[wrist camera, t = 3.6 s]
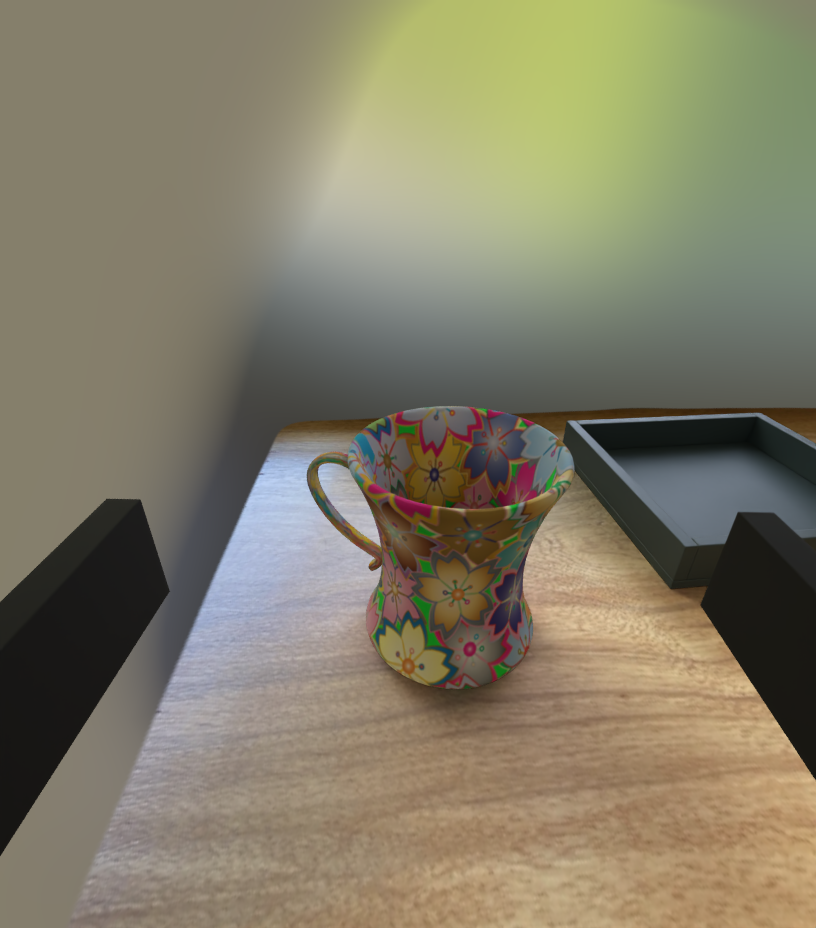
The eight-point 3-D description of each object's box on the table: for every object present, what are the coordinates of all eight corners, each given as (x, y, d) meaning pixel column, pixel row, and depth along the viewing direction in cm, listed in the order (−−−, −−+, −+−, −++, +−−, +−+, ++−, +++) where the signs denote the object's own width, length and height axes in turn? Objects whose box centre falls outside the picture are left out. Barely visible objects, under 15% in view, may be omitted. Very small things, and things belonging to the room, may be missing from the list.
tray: (670, 589, 28) (685, 547, 27) (560, 453, 43) (566, 420, 41) (939, 567, 30) (968, 526, 29) (747, 443, 44) (759, 412, 43)
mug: (546, 588, 28) (579, 420, 23) (526, 738, 21) (568, 537, 15) (355, 544, 32) (346, 389, 26) (277, 659, 24) (241, 472, 19)
